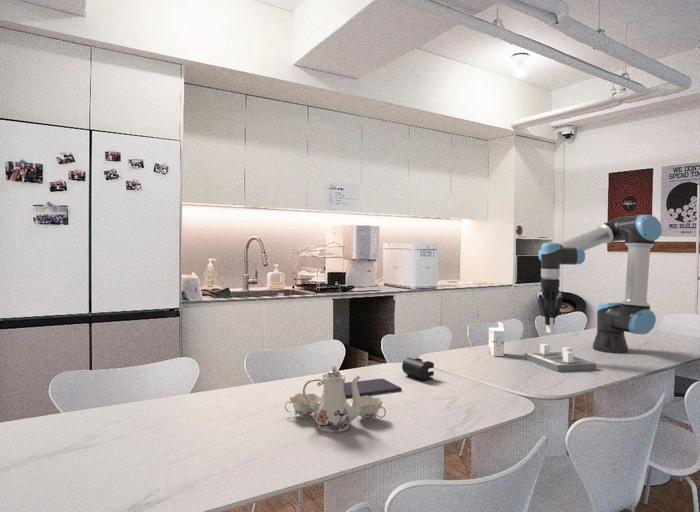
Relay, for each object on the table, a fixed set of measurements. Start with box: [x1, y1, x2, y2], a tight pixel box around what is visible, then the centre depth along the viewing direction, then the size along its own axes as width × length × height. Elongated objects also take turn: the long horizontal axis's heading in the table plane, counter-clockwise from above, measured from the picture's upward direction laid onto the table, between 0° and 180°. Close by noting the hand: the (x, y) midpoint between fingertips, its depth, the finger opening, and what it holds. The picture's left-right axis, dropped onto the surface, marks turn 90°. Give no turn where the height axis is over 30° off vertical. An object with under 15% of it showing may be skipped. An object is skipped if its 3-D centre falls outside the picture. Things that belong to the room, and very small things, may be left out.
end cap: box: [401, 357, 435, 382], centre depth 176 cm, size 10×7×7 cm
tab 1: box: [539, 343, 550, 355], centre depth 208 cm, size 2×3×4 cm
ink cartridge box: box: [488, 321, 505, 357], centre depth 217 cm, size 9×5×15 cm, turn 179°
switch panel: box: [523, 351, 597, 373], centre depth 201 cm, size 18×22×3 cm
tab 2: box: [561, 346, 573, 357], centre depth 202 cm, size 2×3×4 cm
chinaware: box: [284, 365, 387, 433], centre depth 131 cm, size 28×17×17 cm, turn 91°
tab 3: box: [563, 351, 575, 363], centre depth 194 cm, size 2×3×4 cm
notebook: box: [344, 378, 402, 399], centre depth 161 cm, size 13×2×21 cm
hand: (549, 332), depth 209 cm, fingers closed
